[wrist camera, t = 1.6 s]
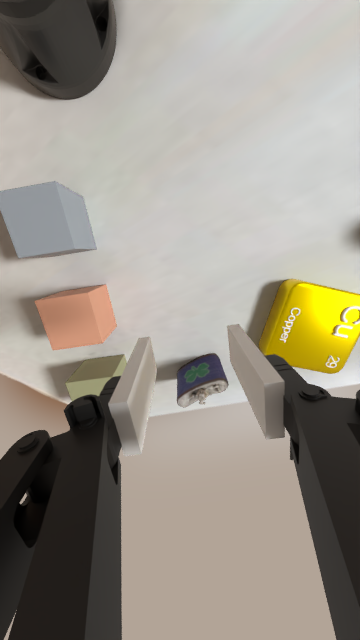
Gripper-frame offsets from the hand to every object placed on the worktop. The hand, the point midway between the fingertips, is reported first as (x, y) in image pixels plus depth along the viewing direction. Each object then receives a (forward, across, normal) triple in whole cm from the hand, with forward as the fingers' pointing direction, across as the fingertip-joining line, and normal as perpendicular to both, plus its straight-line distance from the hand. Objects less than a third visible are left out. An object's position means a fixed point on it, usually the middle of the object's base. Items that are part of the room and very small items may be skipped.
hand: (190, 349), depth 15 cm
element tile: (+25, +22, -10) cm, 35 cm away
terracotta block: (+25, -18, -1) cm, 31 cm away
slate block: (+25, -18, +13) cm, 33 cm away
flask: (+25, 0, -16) cm, 30 cm away
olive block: (+25, -18, -15) cm, 34 cm away
